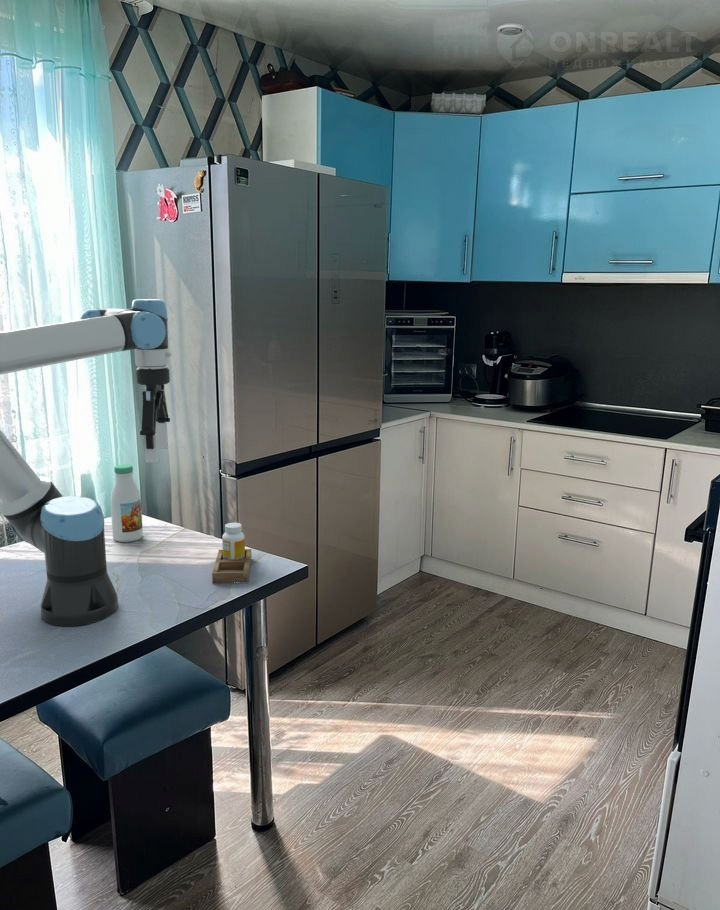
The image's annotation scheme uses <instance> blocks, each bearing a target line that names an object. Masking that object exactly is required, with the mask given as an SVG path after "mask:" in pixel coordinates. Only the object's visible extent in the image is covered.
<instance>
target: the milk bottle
mask: <svg viewBox="0 0 720 910" xmlns="http://www.w3.org/2000/svg"><path fill="white" fill-rule="evenodd" d="M113 470H114V475H115V480H114V484H113V487H112V489H111V493H110V517H111V530H112V531H111V533H112V538H113V540H114V541H116V542H118V543H119V542H120V543H130V542H135V541H139V540H140V539H141V538H142V537H143V535H144V533H143V530H144V529H143V517H142V515H143V514H142V512H143V511H142V502H141V494H140V490H139V489H138V486H137V484H136V483H135V481H134V478H133V474H134V467H133V465H132V464H127V463H126V464H125V463H123V464H118V465H115V466H114V469H113Z"/></svg>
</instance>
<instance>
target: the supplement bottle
mask: <svg viewBox="0 0 720 910" xmlns="http://www.w3.org/2000/svg"><path fill="white" fill-rule="evenodd" d="M242 528H243V527H242V523H239V522H229V523H228V522H227V523H225V524H224V531H225V532H224V533H223V534H222V540H221V541H222V544H221V545H222V550H223V560H238V559H245V549H246V540H245V539H246V538H245V534H244V532H242V530H243V529H242Z"/></svg>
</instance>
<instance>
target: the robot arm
mask: <svg viewBox="0 0 720 910" xmlns="http://www.w3.org/2000/svg"><path fill="white" fill-rule="evenodd" d="M168 320H169V319H168V313H167V305H166V302H165V301H164V300H163V299H155V298H152V299H150V298H149V299H148V298H147V299H146V298H145V299H144V298H143V299H142V298H141V299H133V300H132V303H131V308H130V307H129V308H95V309H94V308H93V309H86V310H84V311H83V312H82V313H81V316H80V319H78V320H70V321H64V322H58V323H50V324H46V325H45V324H43V325H38V326H30V327H25V328H18V329H13V330H6V331H0V376H1V375H6V374H12V373H16V372H21V371H22V372H23V371H26V370H31V369H38V368H42V367H47V366H48V367H49V366H52V365H57V364H62V363H66V362H67V363H68V362H73V361H78V360H83V359H87V358H93V357H99V356H103V355H108V354H114V353H120V352H126V351H131V350H134V359H135V361H134V362H135V363H134V364H135V365H136V366H137V368H136V370H135V373H136V374H135V376H136V377H135V378H136V383H137V384H138V385H140V386H144V385H145V390H143V391H142V393H141V395H142V411H141V414H142V418H141V431H140V430H139V435H140V436H143V443H144V444H143V445H144V461H145V463H158V462H159V459H158V457H159V456H158V450H168V449H169V440H168V439H169V437H168V436H169V435H168V423H170V422H171V417H169V414H168V413H169V412H168V406H167V400H166V393H165V392H166V391H165V385H168V384H169V383H170V382H171V375H170V374H171V373H170V368H169V367H168V366H169V364H170V363H169V361H170V359H169V357H170V358H171V356H172V353H171V352H169V339H168V338H169V336H168V335H169V334H168V333H169V332H168ZM0 513H1V514H2V516H4V518H5V519H6V520H7V521H8V524H9V527H10V528H11V530H12V532H13V533H14V535H16V537H18V538H19V539H20V540H21V541H23V542H25V543H27V544H30V545H31V546H33V547H34V548H35V549H38V550H39V551H41V553H43V554H44V559H45V568H46V569H45V570H46V583H45V587H44V591H43V594H42V598H41V603H40V617H41V619H42V620H43V621H44V622H45V623H47V624H50V625H53V626H57V627H59V626H60V627H75V626H76V627H77V626H78V627H79V626H83V625H84V626H85V625H88V624H89V625H90V624H93V623H96V622H99V621H102V620H105V619H106V618H108V617H110V616H111V615H113V614H114V613H115V612H116V611H117V609H118V608H119V601H118V599H119V598H118V594H117V591H116V588H115V587H114V585H113V582H112V580H111V577H110V576H109V574H108V568H107V566H108V565H107V553H106V539H105V538H106V537H105V517H104V514H103V510H102V507H101V505H100V504H99V503H98V502H97V501H96V500H93V499H92V498H89V497H85V496H83V497H80V496H76V495H72V496H71V495H69V496H68V495H67V496H63V494H62V493H61V491H59V489H58V488H57V487H56V486H55V484H54V483H53V482H52V481H51V479H50V478H49V477H47V476H38V475H37V473H36V472H35V471H34V470H33V468H31V466H30V465H29V464H28V462H27V461H26V460H25V459H24V457H23V456H22V455H21V453H20V452H19V451H18V450H17V448H16V447H15V446H14V445H13V444H12V442H11V441H10V440H9V438H8V437H7V436H6V435H5V433H4V432H3V431H2V430H1V429H0Z"/></svg>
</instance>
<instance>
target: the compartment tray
mask: <svg viewBox="0 0 720 910" xmlns="http://www.w3.org/2000/svg"><path fill="white" fill-rule="evenodd" d="M251 558H253V557H252V549H251V548H245V559H238V560H223V549H218V552H217V555H216V560H215V563H214V566H213V569H212V573H211V579H212V580H211V582H212V584H213V585H214V584H215V585H216V584H237V583H236V582H249V577H250V576H249V575H250V571H249V570H251V565H250V564H251V563H252V559H251ZM248 576H249V577H248ZM234 582H235V583H234Z"/></svg>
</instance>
